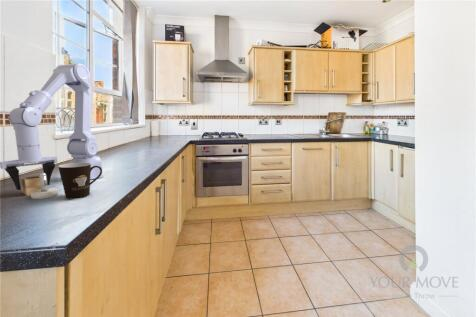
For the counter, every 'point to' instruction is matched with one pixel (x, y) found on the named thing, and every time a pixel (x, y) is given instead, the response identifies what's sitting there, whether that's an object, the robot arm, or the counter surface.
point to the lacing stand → (44, 193)
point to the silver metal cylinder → (43, 182)
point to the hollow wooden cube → (30, 184)
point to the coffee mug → (77, 179)
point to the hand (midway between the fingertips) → (33, 187)
